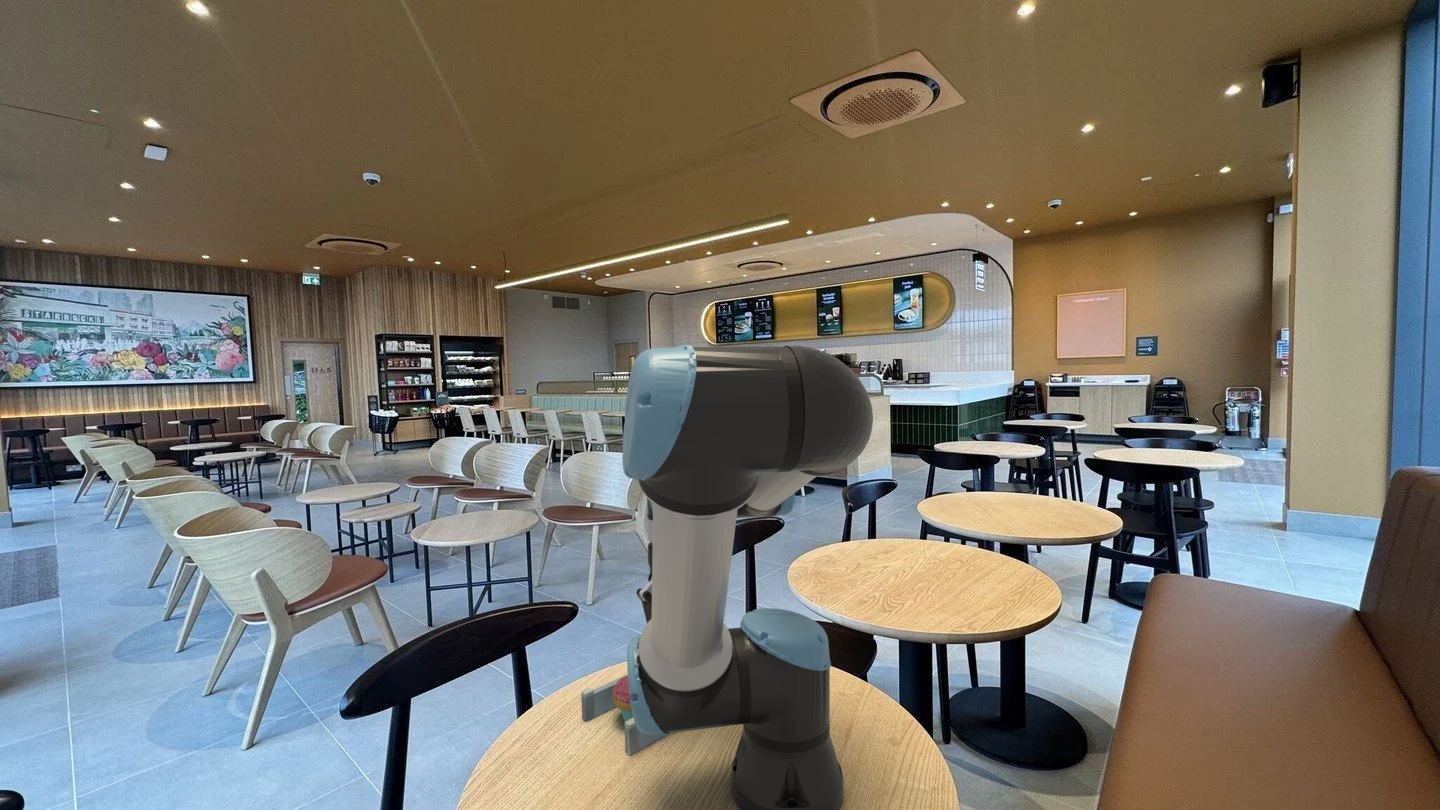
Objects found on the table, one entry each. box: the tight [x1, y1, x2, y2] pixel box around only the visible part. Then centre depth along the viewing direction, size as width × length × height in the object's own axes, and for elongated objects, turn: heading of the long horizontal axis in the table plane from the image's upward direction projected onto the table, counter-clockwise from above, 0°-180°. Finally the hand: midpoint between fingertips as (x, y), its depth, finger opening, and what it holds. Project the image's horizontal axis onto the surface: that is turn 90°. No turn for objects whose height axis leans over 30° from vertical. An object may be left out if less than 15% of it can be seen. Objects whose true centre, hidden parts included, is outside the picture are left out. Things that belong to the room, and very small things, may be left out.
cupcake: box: [612, 674, 633, 723], centre depth 95 cm, size 9×8×12 cm
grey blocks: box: [580, 673, 667, 756], centre depth 96 cm, size 13×14×5 cm
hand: (672, 676), depth 100 cm, fingers closed
